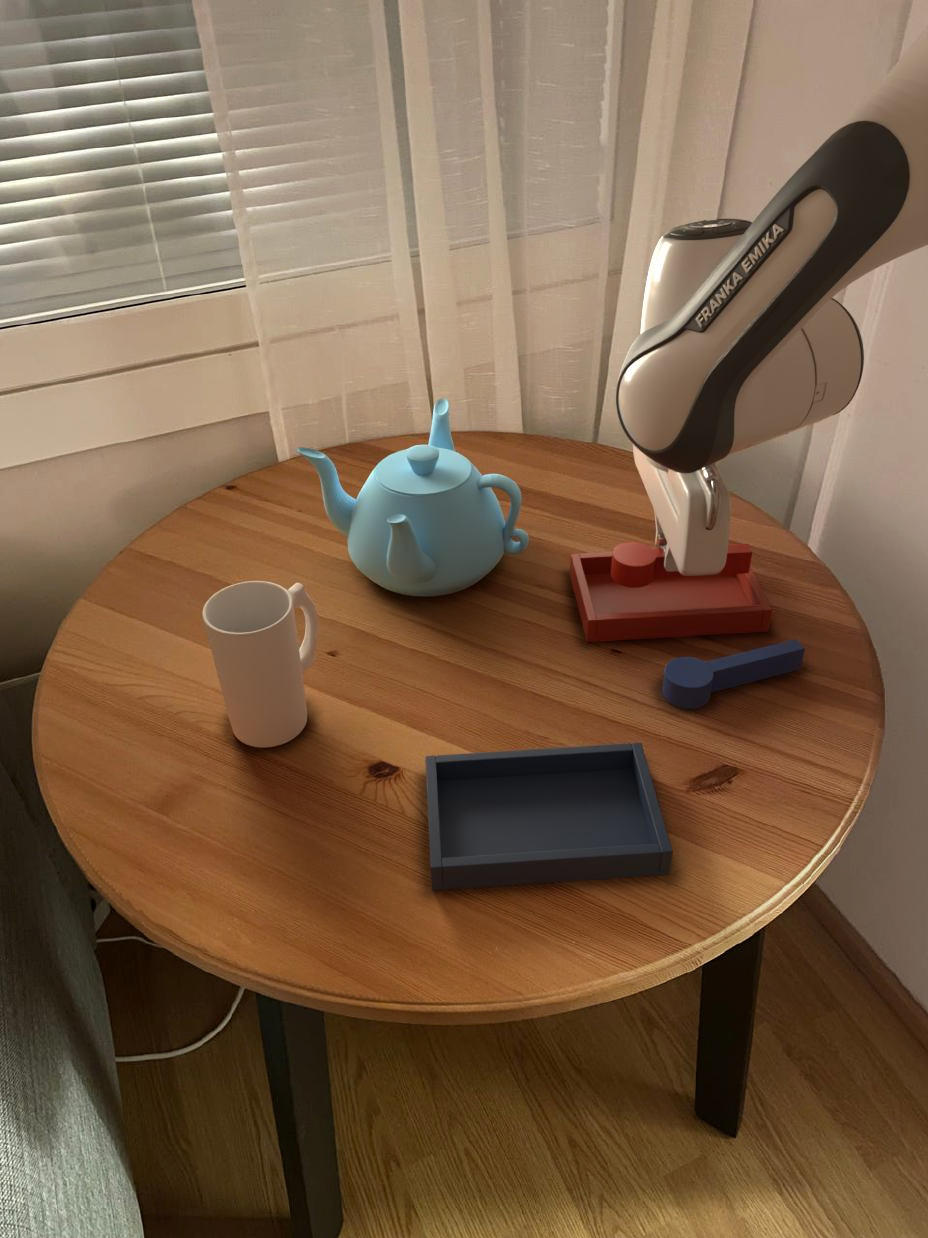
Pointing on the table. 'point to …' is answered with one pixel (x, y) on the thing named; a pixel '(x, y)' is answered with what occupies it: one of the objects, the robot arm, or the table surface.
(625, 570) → the red spoon
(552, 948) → the table surface
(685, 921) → the table surface
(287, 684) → the mug
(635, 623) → the red tray
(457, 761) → the blue tray
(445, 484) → the teapot
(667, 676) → the blue spoon
